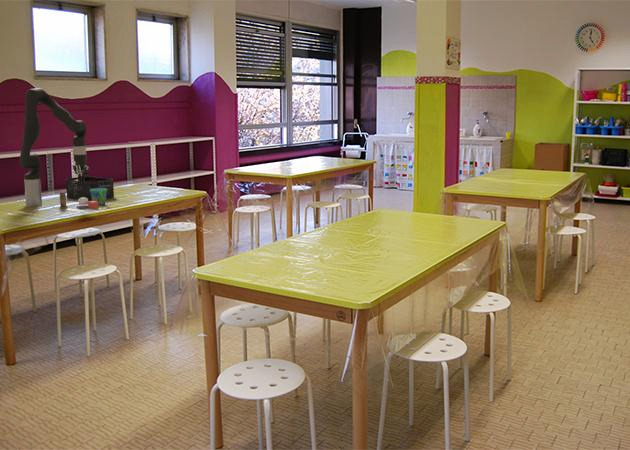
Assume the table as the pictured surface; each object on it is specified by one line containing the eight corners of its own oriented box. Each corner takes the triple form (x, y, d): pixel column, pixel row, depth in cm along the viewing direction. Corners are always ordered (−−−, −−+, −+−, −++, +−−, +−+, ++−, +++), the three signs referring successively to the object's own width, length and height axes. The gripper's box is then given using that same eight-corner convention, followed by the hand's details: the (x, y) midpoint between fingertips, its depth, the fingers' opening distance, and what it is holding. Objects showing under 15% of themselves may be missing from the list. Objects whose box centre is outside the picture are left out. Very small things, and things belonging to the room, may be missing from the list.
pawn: (58, 208, 413) (56, 192, 411) (64, 207, 417) (63, 191, 415) (62, 209, 410) (61, 193, 408) (69, 208, 414) (67, 192, 412)
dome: (76, 204, 416) (76, 198, 415) (84, 202, 420) (83, 197, 419) (82, 204, 413) (82, 199, 412) (90, 203, 417) (89, 197, 416)
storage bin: (116, 197, 461) (115, 178, 458) (95, 201, 444) (94, 181, 441) (86, 194, 474) (84, 175, 471) (64, 198, 457) (63, 179, 454)
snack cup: (109, 206, 427) (108, 190, 425) (92, 207, 422) (91, 191, 420) (106, 202, 441) (105, 187, 438) (89, 203, 436) (88, 188, 434)
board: (57, 210, 412) (56, 202, 411) (79, 206, 425) (78, 198, 424) (77, 213, 402) (76, 205, 401) (99, 209, 415) (98, 201, 414)
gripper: (67, 153, 411) (69, 181, 414) (81, 154, 403) (83, 183, 407) (77, 152, 417) (79, 180, 420) (92, 153, 409) (94, 181, 413)
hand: (81, 181), depth 414 cm, fingers closed
